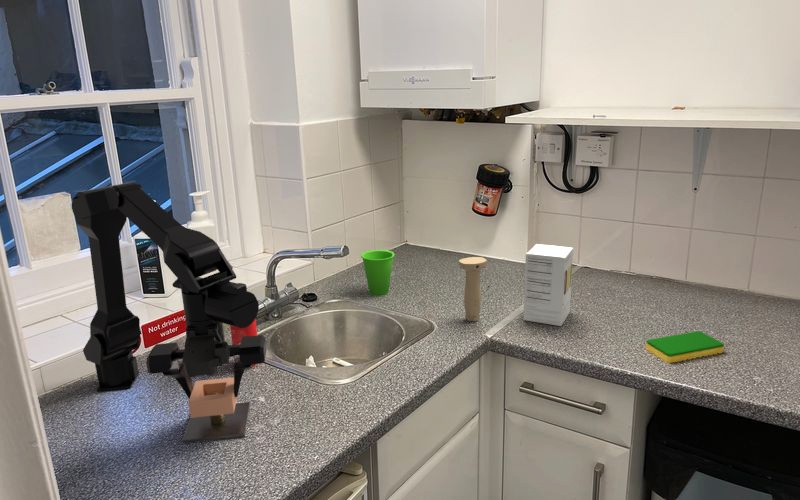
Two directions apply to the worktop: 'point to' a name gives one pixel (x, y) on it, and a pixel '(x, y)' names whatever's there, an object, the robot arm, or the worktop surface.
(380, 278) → the cup
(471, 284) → the handle
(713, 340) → the dish sponge
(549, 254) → the supplement box
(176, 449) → the worktop surface
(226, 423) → the black plate with peg
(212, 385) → the ring
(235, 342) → the beverage can
